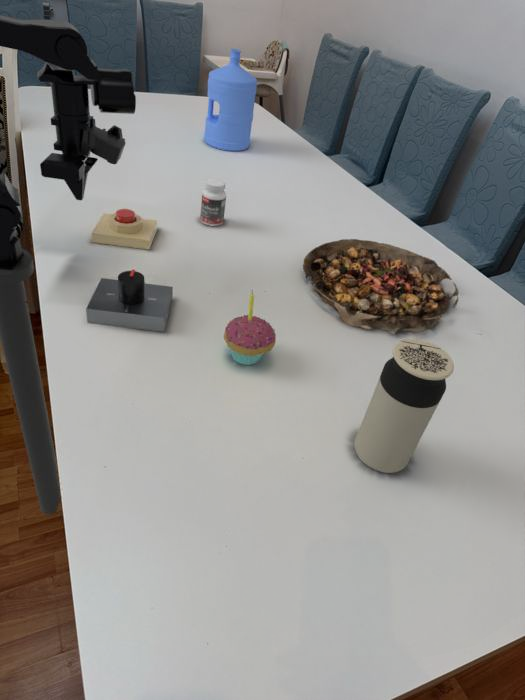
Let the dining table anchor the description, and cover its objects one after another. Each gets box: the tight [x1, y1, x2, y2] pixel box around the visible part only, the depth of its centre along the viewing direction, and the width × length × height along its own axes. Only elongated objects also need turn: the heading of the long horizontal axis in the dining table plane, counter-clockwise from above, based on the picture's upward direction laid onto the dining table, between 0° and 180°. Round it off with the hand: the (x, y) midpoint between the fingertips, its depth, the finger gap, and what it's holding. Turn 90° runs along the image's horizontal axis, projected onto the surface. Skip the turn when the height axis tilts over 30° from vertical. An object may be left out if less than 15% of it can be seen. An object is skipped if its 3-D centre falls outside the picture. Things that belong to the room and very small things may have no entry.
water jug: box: [203, 48, 258, 152], centre depth 161 cm, size 16×16×28 cm
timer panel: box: [85, 277, 174, 333], centre depth 88 cm, size 13×10×3 cm
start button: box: [115, 208, 136, 224], centre depth 107 cm, size 4×4×2 cm
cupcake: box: [223, 289, 277, 366], centre depth 80 cm, size 9×8×12 cm
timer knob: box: [117, 268, 145, 304], centre depth 86 cm, size 4×4×4 cm
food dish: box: [302, 238, 459, 335], centre depth 106 cm, size 35×33×8 cm
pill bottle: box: [200, 177, 227, 227], centre depth 119 cm, size 6×6×10 cm
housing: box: [91, 212, 158, 250], centre depth 109 cm, size 12×10×4 cm
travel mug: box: [353, 338, 455, 474], centre depth 66 cm, size 8×8×18 cm
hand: (79, 199), depth 94 cm, fingers closed
